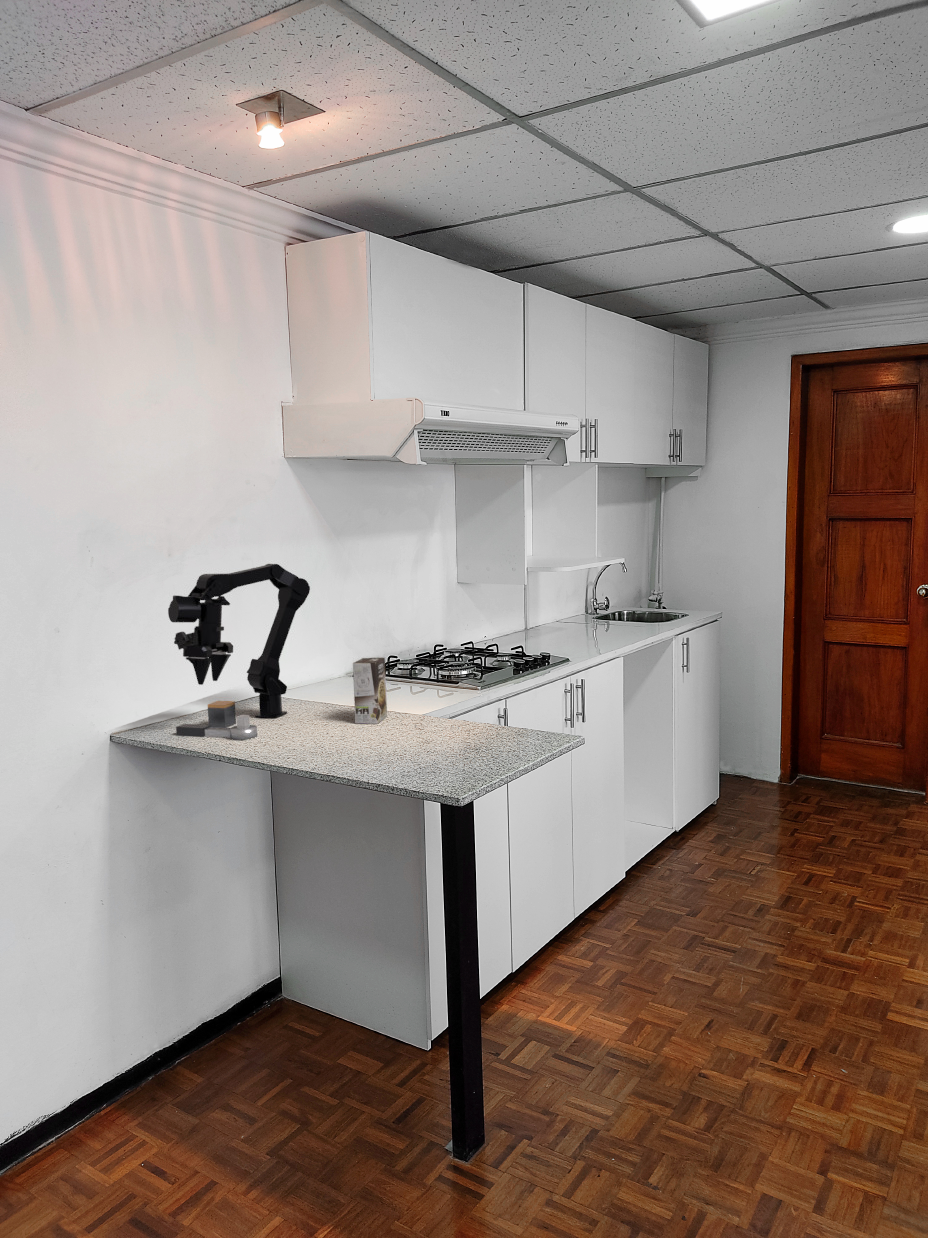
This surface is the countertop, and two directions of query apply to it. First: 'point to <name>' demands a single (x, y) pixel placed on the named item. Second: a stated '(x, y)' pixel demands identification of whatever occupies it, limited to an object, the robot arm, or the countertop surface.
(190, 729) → the ratchet
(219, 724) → the grey block
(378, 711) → the coffee box
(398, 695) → the countertop surface
